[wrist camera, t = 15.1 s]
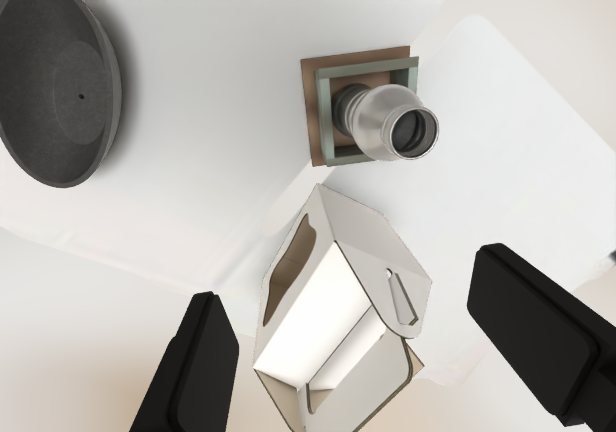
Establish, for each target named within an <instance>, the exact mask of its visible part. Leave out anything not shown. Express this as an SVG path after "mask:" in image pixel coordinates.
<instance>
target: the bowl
mask: <svg viewBox="0 0 616 432" xmlns="http://www.w3.org/2000/svg"><path fill="white" fill-rule="evenodd" d="M83 96H84V97H83ZM121 102H122V87H121V77H120V71H119V66H118V62H117V58H116V55H115V52H114V49H113V47H112V44H111V42H110V40H109V38H108V36H107V34H106V32H105V30H104V29H103V27H102V26H101V24H100V22H99V21H98V19H97V18H96V17H95V15H94V14H93V13H92V12H91V10H90V9H89V8H88V7H87V6H86V5H85V4H84V3H83V2H82V0H0V137H1V139H2V141H3V143H4V145H5V147H6V149H7V150H8V152H9V153H10V155H11V156H12V158H13V159H14V160H15V161H16V163H17V164H18V165H19V166H20V167H21V168H22V169H23V170H24V171H25V172H26V173H27V174H28V175H30V176H31V177H33V178H34V179H36V180H37V181H39V182H41V183H43V184H46V185H48V186H52V187H56V188H69V187H74V186H76V185H79V184H81V183H82V182H84V181H85V180H87V179H88V178H89V177H90V176H91V175H92V174H93V173H94V171H95V170H96V169H97V168H98V167H99V165H100V164H101V163H102V161H103V160H104V158H105V156H106V155H107V153H108V151H109V149H110V147H111V145H112V143H113V140H114V137H115V134H116V131H117V128H118V124H119V119H120V113H121Z"/></svg>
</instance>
